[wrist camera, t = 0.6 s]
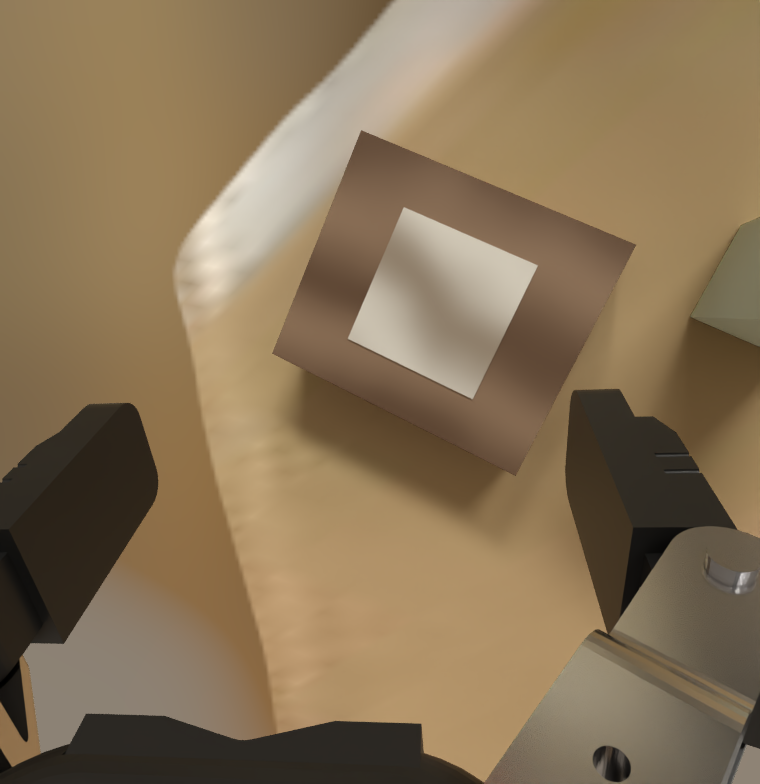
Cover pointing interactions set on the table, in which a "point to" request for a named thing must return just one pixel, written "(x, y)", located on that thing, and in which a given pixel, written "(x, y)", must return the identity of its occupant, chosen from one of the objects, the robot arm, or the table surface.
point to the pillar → (735, 288)
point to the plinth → (448, 300)
